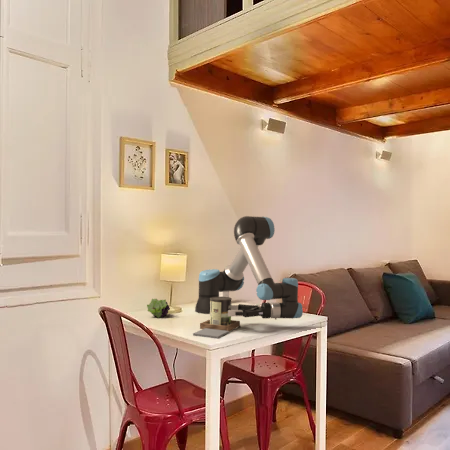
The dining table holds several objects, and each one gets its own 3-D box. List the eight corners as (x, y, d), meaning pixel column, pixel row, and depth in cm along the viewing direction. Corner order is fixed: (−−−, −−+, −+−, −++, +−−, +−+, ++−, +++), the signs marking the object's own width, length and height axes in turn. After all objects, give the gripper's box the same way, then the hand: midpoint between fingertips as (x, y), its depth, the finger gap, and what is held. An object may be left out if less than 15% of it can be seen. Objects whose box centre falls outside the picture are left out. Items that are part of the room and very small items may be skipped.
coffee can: (231, 325, 221) (231, 296, 221) (230, 330, 210) (231, 300, 210) (210, 324, 221) (210, 296, 221) (208, 329, 211) (209, 299, 211)
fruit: (170, 320, 243) (159, 318, 229) (153, 315, 246) (141, 313, 233) (175, 302, 245) (165, 299, 231) (158, 297, 248) (147, 294, 235)
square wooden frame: (199, 328, 212) (200, 323, 212) (213, 323, 225) (213, 318, 225) (227, 332, 206) (228, 326, 206) (239, 326, 219) (239, 321, 219)
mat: (193, 335, 199) (193, 333, 199) (205, 329, 210) (205, 328, 210) (217, 338, 194) (217, 336, 194) (228, 332, 205) (228, 331, 205)
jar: (219, 304, 280) (220, 285, 280) (212, 302, 286) (213, 283, 286) (231, 303, 285) (232, 284, 285) (224, 301, 291) (225, 282, 291)
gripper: (275, 323, 205) (229, 324, 203) (264, 313, 230) (223, 313, 228) (276, 307, 205) (229, 307, 203) (265, 298, 230) (223, 298, 228)
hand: (226, 310), depth 215 cm, fingers open, 13 cm apart
